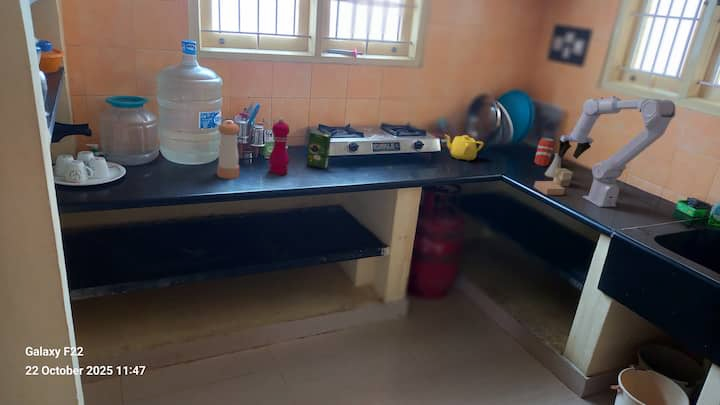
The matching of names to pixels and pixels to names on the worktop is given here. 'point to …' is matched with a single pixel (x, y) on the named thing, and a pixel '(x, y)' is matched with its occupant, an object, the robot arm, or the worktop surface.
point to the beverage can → (544, 151)
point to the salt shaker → (228, 151)
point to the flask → (554, 166)
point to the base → (549, 188)
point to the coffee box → (318, 149)
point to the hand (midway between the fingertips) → (567, 156)
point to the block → (562, 177)
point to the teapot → (463, 147)
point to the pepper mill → (279, 148)
